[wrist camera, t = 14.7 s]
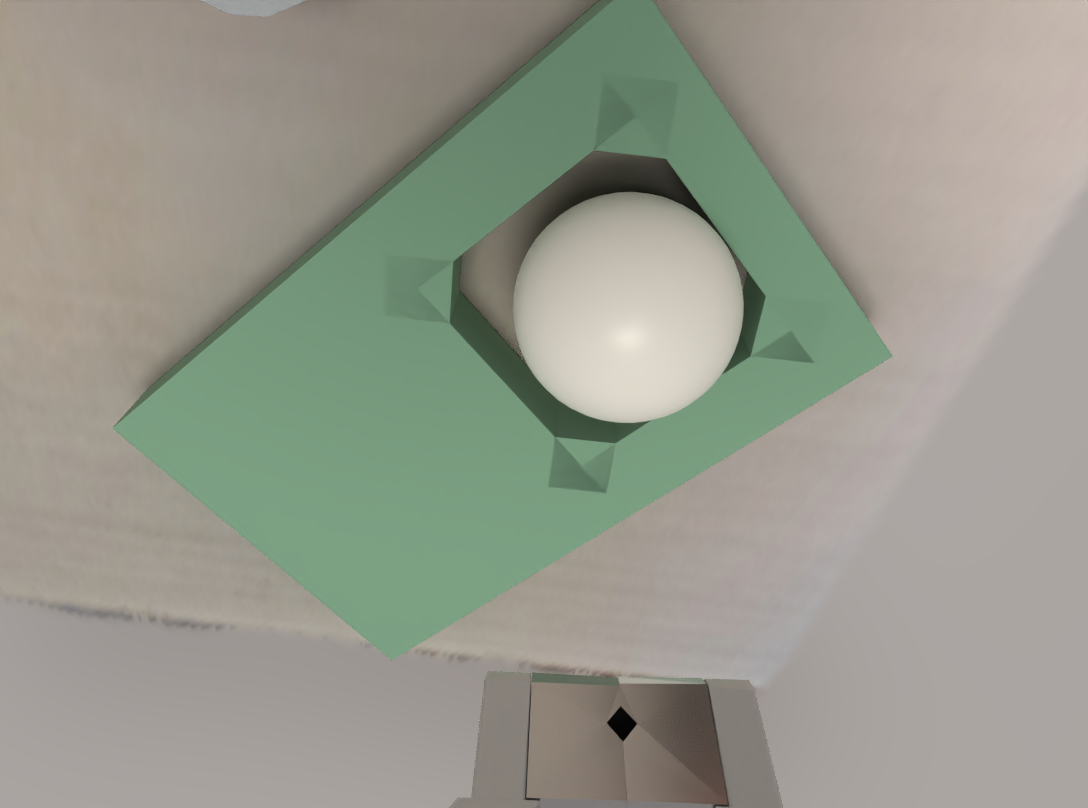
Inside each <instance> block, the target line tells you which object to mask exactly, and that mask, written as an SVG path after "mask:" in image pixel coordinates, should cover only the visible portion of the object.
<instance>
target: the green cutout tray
mask: <svg viewBox="0 0 1088 808" xmlns="http://www.w3.org/2000/svg"><path fill="white" fill-rule="evenodd" d="M593 150H596V151H604V152H613V153H622V154H630V155H639V156H647V157H656V158H664V159H666V160H667V161H668V162H669V164H670V165H671V166H672V168H673V169H674V171H675V172H676V173H677V175H678V176H679V177H680V179H681V180H682V182H683V183H684V184H685V186H686V187H687V188H688V190H689V191H690V193H691V194H692V195H693V197H694V198H695V199H696V201H697V202H698V204H699V205H700V206H701V208H702V209H703V210H704V212H705V213H706V215H707V216H708V217H709V219H710V220H711V221H712V223H713V224H714V226H715V227H716V228H717V230H718V231H719V233H720V234H721V235H722V237H723V238H724V239H725V241H726V242H727V244H728V245H729V246H730V248H731V249H732V250H733V252H734V253H735V255H736V256H737V257H738V259H739V260H740V261H741V263H742V264H743V266H744V267H745V268H746V270H747V271H748V274H747V278H746V282H745V286H744V290H743V300H744V311H743V322H742V329H741V333H740V337H739V341H738V343H737V346H736V349H735V351H734V354H733V356H732V358H731V360H730V362H729V364H728V366H727V367H726V368H725V370H724V371H723V373H722V374H721V376H720V377H719V378H718V380H717V381H716V382H715V383H714V384H713V385H712V387H711V388H709V389H708V390H707V391H706V392H705V393H704V394H703V395H702V396H701V397H699V398H698V399H697V400H695V401H694V402H692V403H691V404H690V405H688V406H686V407H685V408H683V409H681V410H679V411H677V412H675V413H673V414H670V415H668V416H665V417H662V418H658V419H654V420H650V421H645V422H637V423H618V422H610V421H604V420H599V419H596V418H592V417H589V416H586V415H584V414H582V413H580V412H578V411H576V410H573V409H571V408H569V407H568V406H566V405H565V404H563V403H562V402H560V401H559V400H557V399H556V398H555V397H554V396H553V395H552V394H551V393H550V392H548V391H547V390H546V389H545V388H544V387H543V386H542V384H541V383H540V382H539V381H538V380H537V378H536V377H535V376H534V374H533V373H532V371H531V370H530V368H529V367H528V366H527V365H526V364H525V362H524V361H523V360H522V359H521V358H520V357H519V356H518V355H517V354H516V352H515V351H514V350H513V349H512V348H511V347H510V346H509V345H508V344H507V342H506V341H505V340H504V339H503V338H502V337H501V336H500V335H499V334H498V333H497V331H496V330H495V329H494V328H493V327H492V326H491V325H490V324H489V323H488V321H487V320H486V319H485V318H484V317H483V316H482V315H481V314H480V313H479V311H478V310H477V309H476V308H475V307H474V306H473V305H472V304H471V303H470V302H469V300H468V299H467V298H466V297H465V296H464V295H463V294H462V293H461V292H460V290H459V287H460V271H461V255H462V254H463V253H464V252H466V251H467V250H468V249H470V248H471V247H472V246H473V245H475V244H476V243H477V242H478V241H480V240H481V239H482V238H483V237H485V236H486V235H487V234H488V233H490V232H491V231H492V230H494V229H495V228H496V227H497V226H499V225H500V224H501V223H502V222H504V221H505V220H506V219H507V218H509V217H510V216H511V215H512V214H514V213H515V212H516V211H518V210H519V209H520V208H521V207H523V206H524V205H525V204H526V203H528V202H529V201H530V200H531V199H533V198H534V197H535V196H536V195H538V194H539V193H540V192H542V191H543V190H544V189H545V188H547V187H548V186H549V185H550V184H552V183H553V182H554V181H555V180H557V179H558V178H559V177H560V176H562V175H563V174H564V173H566V172H567V171H568V170H569V169H571V168H572V167H573V166H574V165H576V164H577V163H578V162H579V161H581V160H582V159H583V158H585V157H586V156H587V155H588V154H590V153H591V152H592V151H593ZM891 357H892V354H891V353H890V351H889V350H888V348H887V347H886V345H885V344H884V342H883V341H882V339H881V338H880V337H879V335H878V334H877V332H876V331H875V329H874V328H873V326H872V325H871V323H870V322H869V320H868V319H867V317H866V316H865V314H864V313H863V311H862V310H861V308H860V307H859V305H858V304H857V302H856V301H855V299H854V298H853V297H852V295H851V294H850V292H849V291H848V289H847V288H846V286H845V285H844V283H843V282H842V280H841V279H840V277H839V276H838V274H837V273H836V271H835V270H834V268H833V267H832V265H831V264H830V262H829V261H828V260H827V258H826V257H825V255H824V254H823V252H822V251H821V249H820V248H819V246H818V245H817V243H816V242H815V240H814V239H813V237H812V236H811V234H810V233H809V231H808V230H807V228H806V227H805V225H804V224H803V222H802V221H801V220H800V218H799V217H798V215H797V214H796V212H795V211H794V209H793V208H792V206H791V205H790V203H789V202H788V200H787V199H786V197H785V196H784V194H783V193H782V191H781V190H780V188H779V187H778V185H777V184H776V182H775V181H774V180H773V178H772V177H771V175H770V174H769V172H768V171H767V169H766V168H765V166H764V165H763V163H762V162H761V160H760V159H759V157H758V156H757V154H756V153H755V151H754V150H753V148H752V147H751V145H750V144H749V143H748V141H747V140H746V138H745V137H744V135H743V134H742V132H741V131H740V129H739V128H738V126H737V125H736V123H735V122H734V120H733V119H732V117H731V116H730V114H729V113H728V111H727V110H726V108H725V107H724V105H723V104H722V103H721V101H720V100H719V98H718V97H717V95H716V94H715V92H714V91H713V89H712V88H711V86H710V85H709V83H708V82H707V80H706V79H705V77H704V76H703V74H702V73H701V71H700V70H699V68H698V67H697V65H696V64H695V63H694V61H693V60H692V58H691V57H690V55H689V54H688V52H687V51H686V49H685V48H684V46H683V45H682V43H681V42H680V40H679V39H678V37H677V36H676V34H675V33H674V31H673V30H672V28H671V27H670V26H669V24H668V23H667V21H666V20H665V18H664V17H663V15H662V14H661V12H660V11H659V9H658V8H657V6H656V5H655V3H654V2H653V0H599V1H598V2H597V3H596V4H595V5H593V6H592V7H591V8H590V9H589V10H588V11H586V12H585V13H584V14H583V15H582V16H581V17H579V18H578V19H577V20H576V21H575V22H574V23H572V24H571V25H570V26H569V27H568V28H567V29H565V30H564V31H563V32H562V33H561V34H560V35H558V36H557V37H556V38H555V39H554V40H553V41H552V42H550V43H549V44H548V45H547V46H546V47H545V48H543V49H542V50H541V51H540V52H539V53H538V54H536V55H535V56H534V57H533V58H532V59H531V60H529V61H528V62H527V63H526V64H525V65H524V66H522V67H521V68H520V69H519V70H518V71H517V72H515V73H514V74H513V75H512V76H511V77H510V78H508V79H507V80H506V81H505V82H504V83H503V84H502V85H500V86H499V87H498V88H497V89H496V90H495V91H493V92H492V93H491V94H490V95H489V96H488V97H486V98H485V99H484V100H483V101H482V102H481V103H479V104H478V105H477V106H476V107H475V108H474V109H472V110H471V111H470V112H469V113H468V114H467V115H465V116H464V117H463V118H462V119H461V120H460V121H459V122H457V123H456V124H455V125H454V126H453V127H452V128H450V129H449V130H448V131H447V132H446V133H445V134H443V135H442V136H441V137H440V138H439V139H438V140H436V141H435V142H434V143H433V144H432V145H431V146H429V147H428V148H427V149H426V150H425V151H424V152H422V153H421V154H420V155H419V156H418V157H417V158H416V159H414V160H413V161H412V162H411V163H410V164H409V165H407V166H406V167H405V168H404V169H403V170H402V171H400V172H399V173H398V174H397V175H396V176H395V177H393V178H392V179H391V180H390V181H389V182H388V183H386V184H385V185H384V186H383V187H382V188H381V189H379V190H378V191H377V192H376V193H375V194H374V195H372V196H371V197H370V198H369V199H368V200H367V201H366V202H364V203H363V204H362V205H361V206H360V207H359V208H357V209H356V210H355V211H354V212H353V213H352V214H350V215H349V216H348V217H347V218H346V219H345V220H343V221H342V222H341V223H340V224H339V225H338V226H336V227H335V228H334V229H333V230H332V231H331V232H329V233H328V234H327V235H326V236H325V237H324V238H323V239H321V240H320V241H319V242H318V243H317V244H316V245H314V246H313V247H312V248H311V249H310V250H309V251H307V252H306V253H305V254H304V255H303V256H302V257H300V258H299V259H298V260H297V261H296V262H295V263H293V264H292V265H291V266H290V267H289V268H288V269H286V270H285V271H284V272H283V273H282V274H281V275H280V276H278V277H277V278H276V279H275V280H274V281H273V282H271V283H270V284H269V285H268V286H267V287H266V288H264V289H263V290H262V291H261V292H260V293H259V294H257V295H256V296H255V297H254V298H253V299H252V300H250V301H249V302H248V303H247V304H246V305H245V306H243V307H242V308H241V309H240V310H239V311H238V312H236V313H235V314H234V315H233V316H232V317H231V318H230V319H228V320H227V321H226V322H225V323H224V324H223V325H221V326H220V327H219V328H218V329H217V330H216V331H214V332H213V333H212V334H211V335H210V336H209V337H207V338H206V339H205V340H204V341H203V342H202V343H200V344H199V345H198V346H197V347H196V348H195V349H193V350H192V351H191V352H190V353H189V354H188V355H187V356H185V357H184V358H183V359H182V360H181V361H180V362H178V363H177V364H176V365H175V366H174V367H173V368H171V369H170V370H169V371H168V372H167V373H166V374H164V375H163V376H162V377H161V378H160V379H159V380H157V381H156V382H155V383H154V384H153V385H152V386H150V387H149V388H148V389H147V390H146V391H145V392H144V393H143V395H142V396H141V397H140V398H139V399H138V400H137V401H136V402H135V404H134V405H133V406H132V407H131V408H130V409H129V410H128V411H127V412H126V414H125V415H124V416H123V417H122V418H121V419H120V420H119V421H118V423H117V424H116V425H115V426H114V427H113V429H114V430H115V431H116V432H118V433H119V434H120V435H121V436H122V437H124V438H125V439H126V440H127V441H128V442H130V443H131V444H132V445H133V446H134V447H136V448H137V449H138V450H139V451H140V452H142V453H143V454H144V455H145V456H146V457H148V458H149V459H150V460H151V461H152V462H154V463H155V464H156V465H157V466H158V467H160V468H161V469H162V470H163V471H164V472H166V473H167V474H168V475H169V476H170V477H172V478H173V479H174V480H175V481H176V482H178V483H179V484H180V485H181V486H182V487H184V488H185V489H186V490H187V491H188V492H190V493H191V494H192V495H193V496H195V497H196V498H197V499H198V500H199V501H201V502H202V503H203V504H204V505H205V506H207V507H208V508H209V509H210V510H211V511H213V512H214V513H215V514H216V515H217V516H219V517H220V518H221V519H222V520H223V521H225V522H226V523H227V524H228V525H229V526H231V527H232V528H233V529H234V530H235V531H237V532H238V533H239V534H240V535H241V536H243V537H244V538H245V539H246V540H247V541H249V542H250V543H251V544H252V545H253V546H255V547H256V548H257V549H258V550H259V551H261V552H262V553H263V554H264V555H265V556H267V557H268V558H269V559H270V560H271V561H273V562H274V563H275V564H276V565H278V566H279V567H280V568H281V569H282V570H284V571H285V572H286V573H287V574H288V575H290V576H291V577H292V578H293V579H294V580H296V581H297V582H298V583H299V584H300V585H302V586H303V587H304V588H305V589H306V590H308V591H309V592H310V593H311V594H312V595H314V596H315V597H316V598H317V599H318V600H320V601H321V602H322V603H323V604H324V605H326V606H327V607H328V608H329V609H330V610H332V611H333V612H334V613H335V614H336V615H338V616H339V617H340V618H341V619H342V620H344V621H345V622H346V623H347V624H348V625H350V626H351V627H352V628H353V629H354V630H356V631H357V632H358V633H359V634H361V635H362V636H363V637H364V638H365V639H367V640H368V641H369V642H370V643H371V644H373V645H374V646H375V647H376V648H377V649H379V650H380V651H381V652H382V653H383V654H385V655H386V656H387V657H388V658H389V659H391V660H393V659H395V658H396V657H398V656H400V655H401V654H403V653H405V652H406V651H408V650H409V649H411V648H413V647H414V646H416V645H418V644H419V643H421V642H423V641H424V640H426V639H428V638H429V637H431V636H433V635H434V634H436V633H437V632H439V631H441V630H442V629H444V628H446V627H447V626H449V625H451V624H452V623H454V622H456V621H457V620H459V619H461V618H462V617H464V616H465V615H467V614H469V613H470V612H472V611H474V610H475V609H477V608H479V607H480V606H482V605H484V604H485V603H487V602H489V601H490V600H492V599H493V598H495V597H497V596H498V595H500V594H502V593H503V592H505V591H507V590H508V589H510V588H512V587H513V586H515V585H517V584H518V583H520V582H522V581H523V580H525V579H526V578H528V577H530V576H531V575H533V574H535V573H536V572H538V571H540V570H541V569H543V568H545V567H546V566H548V565H550V564H551V563H553V562H554V561H556V560H558V559H559V558H561V557H563V556H564V555H566V554H568V553H569V552H571V551H573V550H574V549H576V548H578V547H579V546H581V545H582V544H584V543H586V542H587V541H589V540H591V539H592V538H594V537H596V536H597V535H599V534H601V533H602V532H604V531H606V530H607V529H609V528H610V527H612V526H614V525H615V524H617V523H619V522H620V521H622V520H624V519H625V518H627V517H629V516H630V515H632V514H634V513H635V512H637V511H639V510H640V509H642V508H643V507H645V506H647V505H648V504H650V503H652V502H653V501H655V500H657V499H658V498H660V497H662V496H663V495H665V494H667V493H668V492H670V491H671V490H673V489H675V488H676V487H678V486H680V485H681V484H683V483H685V482H686V481H688V480H690V479H691V478H693V477H695V476H696V475H698V474H699V473H701V472H703V471H704V470H706V469H708V468H709V467H711V466H713V465H714V464H716V463H718V462H719V461H721V460H723V459H724V458H726V457H727V456H729V455H731V454H732V453H734V452H736V451H737V450H739V449H741V448H742V447H744V446H746V445H747V444H749V443H751V442H752V441H754V440H756V439H757V438H759V437H760V436H762V435H764V434H765V433H767V432H769V431H770V430H772V429H774V428H775V427H777V426H779V425H780V424H782V423H784V422H785V421H787V420H788V419H790V418H792V417H793V416H795V415H797V414H798V413H800V412H802V411H803V410H805V409H807V408H808V407H810V406H812V405H813V404H815V403H816V402H818V401H820V400H821V399H823V398H825V397H826V396H828V395H830V394H831V393H833V392H835V391H836V390H838V389H840V388H841V387H843V386H844V385H846V384H848V383H849V382H851V381H853V380H854V379H856V378H858V377H859V376H861V375H863V374H864V373H866V372H868V371H869V370H871V369H873V368H874V367H876V366H877V365H879V364H881V363H882V362H884V361H886V360H887V359H889V358H891Z"/></svg>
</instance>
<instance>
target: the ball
mask: <svg viewBox="0 0 1088 808" xmlns="http://www.w3.org/2000/svg"><path fill="white" fill-rule="evenodd" d="M743 311H744V300H743V290H742V285H741V280H740V276H739V273H738V270H737V267H736V264H735V261H734V259H733V257H732V255H731V253H730V251H729V249H728V247H727V246H726V244H725V243H724V241H723V240H722V238H721V237H720V236H719V235H718V233H717V232H716V231H715V230H714V229H713V228H712V227H711V226H710V225H709V224H708V223H707V222H706V221H705V220H704V219H703V218H702V217H700V216H699V215H698V214H697V213H695V212H694V211H692V210H690V209H689V208H687V207H685V206H684V205H682V204H680V203H677V202H675V201H673V200H670V199H668V198H666V197H662V196H658V195H654V194H648V193H639V192H617V193H611V194H606V195H601V196H597V197H594V198H591V199H588V200H585V201H583V202H581V203H579V204H577V205H575V206H573V207H571V208H570V209H568V210H567V211H565V212H564V213H562V214H561V215H559V216H558V217H557V218H556V219H554V220H553V221H552V222H551V223H550V224H549V225H548V226H547V227H546V228H545V229H544V230H543V231H542V232H541V233H540V235H539V236H538V237H537V238H536V239H535V241H534V242H533V244H532V245H531V247H530V249H529V250H528V252H527V254H526V256H525V258H524V260H523V262H522V264H521V267H520V270H519V273H518V276H517V279H516V284H515V289H514V297H513V322H514V328H515V333H516V337H517V340H518V344H519V347H520V350H521V352H522V354H523V357H524V359H525V361H526V363H527V365H528V367H529V368H530V370H531V371H532V373H533V374H534V376H535V377H536V378H537V380H538V381H539V382H540V383H541V384H542V386H543V387H544V388H545V389H546V390H547V391H548V392H550V393H551V394H552V395H553V396H554V397H555V398H556V399H557V400H559V401H560V402H562V403H563V404H565V405H566V406H568V407H569V408H571V409H573V410H576V411H578V412H580V413H582V414H584V415H586V416H589V417H592V418H596V419H599V420H604V421H610V422H618V423H637V422H645V421H650V420H654V419H658V418H662V417H665V416H668V415H670V414H673V413H675V412H677V411H679V410H681V409H683V408H685V407H686V406H688V405H690V404H691V403H692V402H694V401H695V400H697V399H698V398H699V397H701V396H702V395H703V394H704V393H705V392H706V391H707V390H708V389H709V388H711V387H712V385H713V384H714V383H715V382H716V381H717V380H718V378H719V377H720V376H721V374H722V373H723V371H724V370H725V368H726V367H727V366H728V364H729V362H730V360H731V358H732V356H733V354H734V351H735V349H736V346H737V343H738V341H739V337H740V333H741V329H742V322H743Z"/></svg>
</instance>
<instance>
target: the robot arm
mask: <svg viewBox="0 0 1088 808" xmlns="http://www.w3.org/2000/svg"><path fill="white" fill-rule="evenodd" d="M449 808H783V804H782V800H781V796H780V792H779V788H778V784H777V780H776V776H775V772H774V767H773V764H772V760H771V756H770V751H769V747H768V743H767V739H766V735H765V730H764V727H763V723H762V718H761V714H760V710H759V706H758V702H757V698H756V694H755V689H754V687H753V685H752V684H751V683H750V681H749V680H728V679H705V680H703V679H702V678H662V677H618V676H617V678H616V677H599V676H582V675H566V674H549V673H532V686H531V673H520V672H502V671H488V672H487V675H486V678H485V681H484V688H483V698H482V706H481V715H480V724H479V733H478V742H477V751H476V760H475V769H474V778H473V787H472V796H471V798H457V799H456V800H455V802H454V803H453V804H452V805H451V806H450V807H449Z"/></svg>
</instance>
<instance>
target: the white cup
mask: <svg viewBox="0 0 1088 808" xmlns="http://www.w3.org/2000/svg"><path fill="white" fill-rule="evenodd" d="M200 1H202V2H205V3H207V4H209V5H211V6H213V7H215V8H218V9H220V10H222V11H224V12H226V13H228V14H230V15H244V16H271V15H274V14H276V13H278V12H281V11H283V10H285V9H288V8H290V7H292V6H294V5H297V4H299V3H301V2H303V1H304V0H200Z"/></svg>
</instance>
